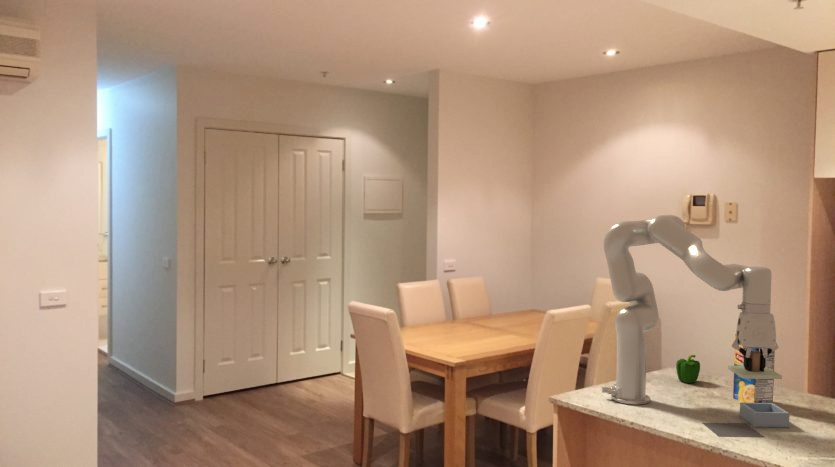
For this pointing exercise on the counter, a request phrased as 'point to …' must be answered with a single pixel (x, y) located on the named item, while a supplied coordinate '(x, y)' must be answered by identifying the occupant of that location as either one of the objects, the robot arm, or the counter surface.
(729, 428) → the mat
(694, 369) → the bell pepper
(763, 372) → the lid
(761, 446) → the counter surface
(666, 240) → the robot arm
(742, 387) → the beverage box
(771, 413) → the dish
